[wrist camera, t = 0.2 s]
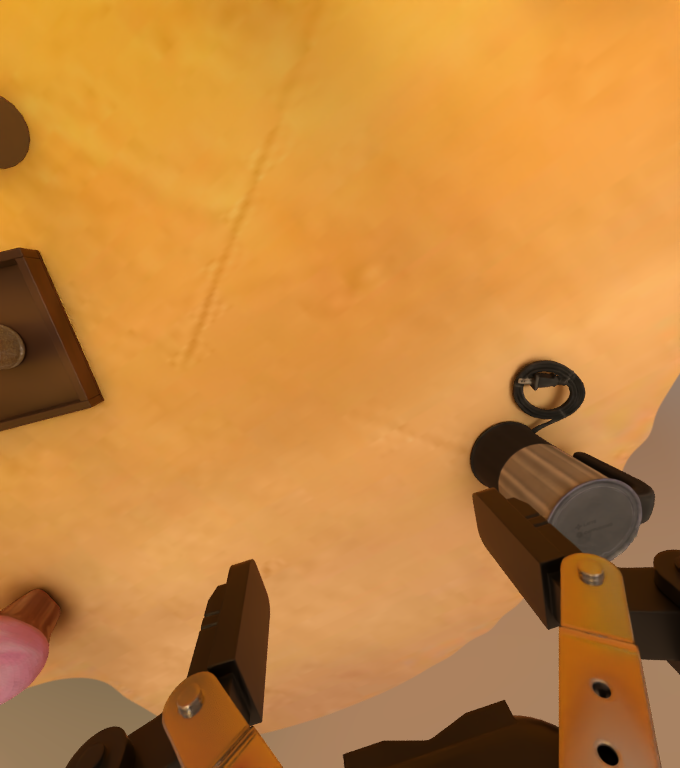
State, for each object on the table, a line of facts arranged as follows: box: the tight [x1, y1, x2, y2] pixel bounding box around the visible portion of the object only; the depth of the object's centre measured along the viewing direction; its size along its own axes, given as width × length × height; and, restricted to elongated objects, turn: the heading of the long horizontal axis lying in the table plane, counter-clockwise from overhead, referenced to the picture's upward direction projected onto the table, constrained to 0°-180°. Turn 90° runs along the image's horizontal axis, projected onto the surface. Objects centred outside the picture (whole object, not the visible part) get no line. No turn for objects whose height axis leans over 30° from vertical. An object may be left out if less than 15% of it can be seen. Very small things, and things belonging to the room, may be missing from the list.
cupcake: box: [0, 589, 60, 705], centre depth 39 cm, size 9×9×10 cm
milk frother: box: [470, 360, 655, 561], centre depth 38 cm, size 14×16×15 cm
